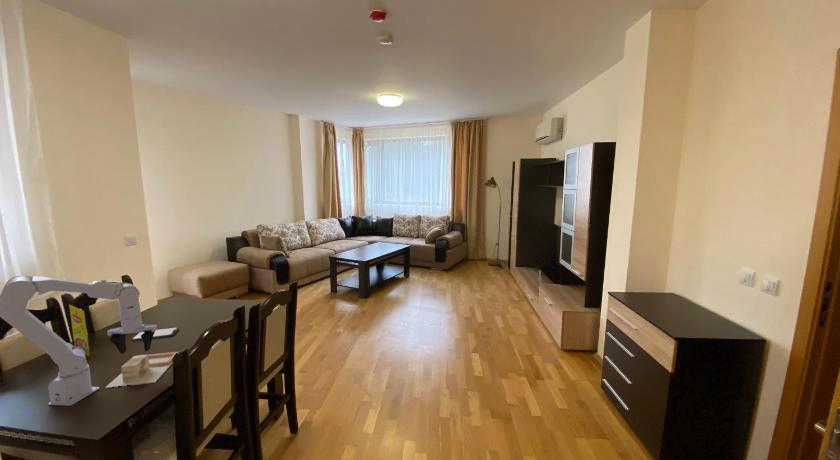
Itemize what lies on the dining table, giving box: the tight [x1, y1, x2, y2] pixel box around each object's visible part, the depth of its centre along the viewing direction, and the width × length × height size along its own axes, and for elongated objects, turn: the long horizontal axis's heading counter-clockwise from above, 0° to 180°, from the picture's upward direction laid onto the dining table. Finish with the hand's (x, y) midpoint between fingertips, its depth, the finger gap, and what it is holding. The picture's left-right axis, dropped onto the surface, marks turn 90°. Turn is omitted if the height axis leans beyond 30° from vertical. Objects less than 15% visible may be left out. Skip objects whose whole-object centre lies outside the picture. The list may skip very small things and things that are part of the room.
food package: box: [68, 304, 91, 358], centre depth 139 cm, size 15×1×20 cm, turn 62°
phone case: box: [131, 327, 179, 342], centre depth 157 cm, size 9×2×16 cm
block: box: [120, 354, 149, 382], centre depth 123 cm, size 8×4×6 cm, turn 15°
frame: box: [147, 351, 179, 367], centre depth 133 cm, size 12×8×1 cm
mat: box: [105, 356, 173, 389], centre depth 128 cm, size 21×15×1 cm
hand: (135, 351), depth 123 cm, fingers open, 7 cm apart
